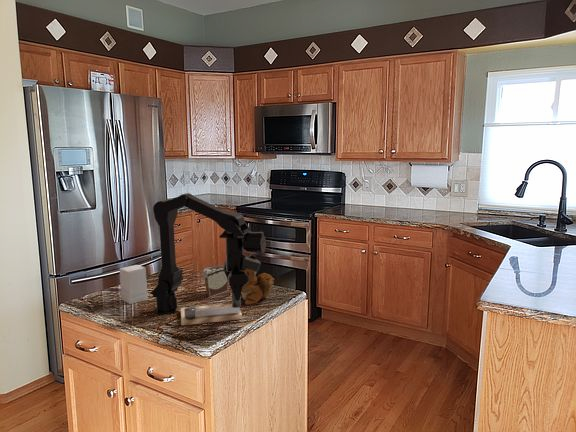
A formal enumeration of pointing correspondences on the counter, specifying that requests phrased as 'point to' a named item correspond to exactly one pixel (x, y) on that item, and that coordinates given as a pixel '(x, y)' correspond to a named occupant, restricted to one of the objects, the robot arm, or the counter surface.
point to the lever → (213, 310)
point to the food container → (215, 280)
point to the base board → (209, 318)
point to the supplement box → (133, 284)
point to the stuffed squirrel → (256, 287)
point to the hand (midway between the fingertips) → (235, 295)
